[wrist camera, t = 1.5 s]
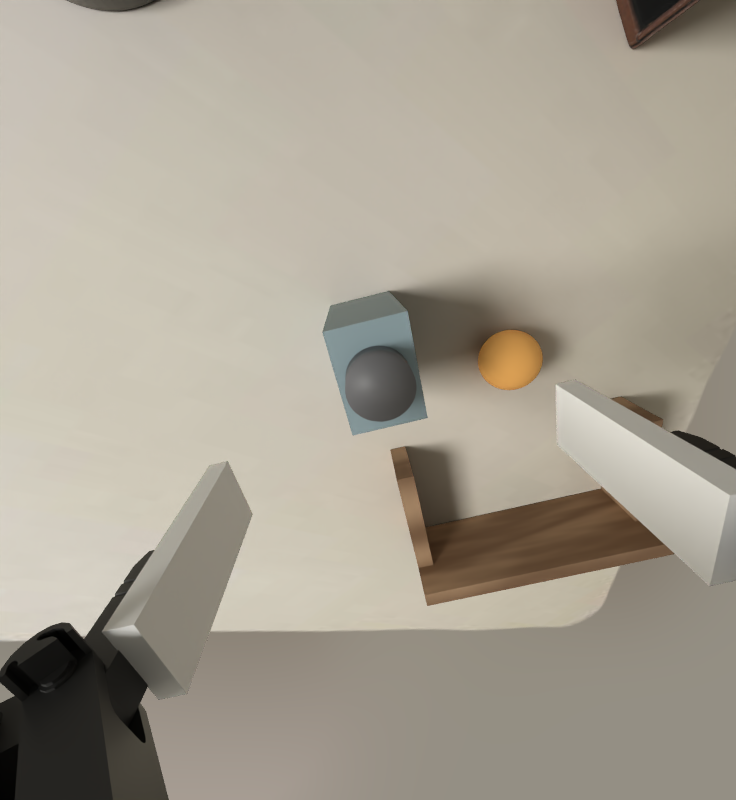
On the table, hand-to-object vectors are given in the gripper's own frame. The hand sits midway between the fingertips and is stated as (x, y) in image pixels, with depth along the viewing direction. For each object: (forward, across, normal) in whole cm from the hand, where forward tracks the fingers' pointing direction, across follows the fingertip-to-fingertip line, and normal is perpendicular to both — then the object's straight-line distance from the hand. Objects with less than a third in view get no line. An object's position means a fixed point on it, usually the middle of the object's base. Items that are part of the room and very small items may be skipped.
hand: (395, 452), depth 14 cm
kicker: (+18, 0, 0) cm, 18 cm away
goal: (+18, +11, -17) cm, 27 cm away
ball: (+16, +11, -4) cm, 20 cm away
